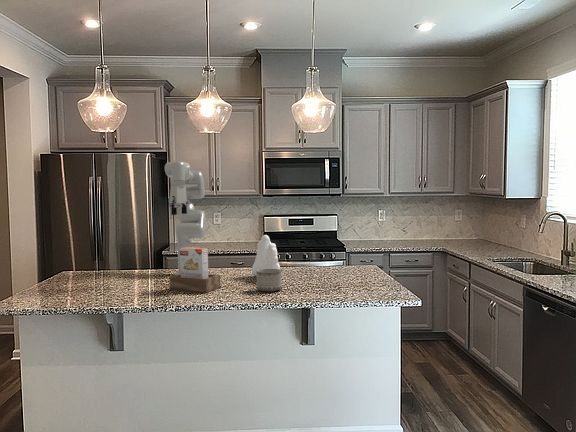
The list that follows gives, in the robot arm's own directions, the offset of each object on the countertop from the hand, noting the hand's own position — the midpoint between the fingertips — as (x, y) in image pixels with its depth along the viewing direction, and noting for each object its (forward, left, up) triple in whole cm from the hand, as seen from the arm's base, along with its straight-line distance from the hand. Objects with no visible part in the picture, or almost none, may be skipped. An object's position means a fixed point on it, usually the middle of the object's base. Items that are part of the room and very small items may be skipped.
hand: (179, 214), depth 289 cm
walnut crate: (+16, +20, -38) cm, 46 cm away
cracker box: (+17, +20, -38) cm, 46 cm away
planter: (+6, +58, -39) cm, 70 cm away
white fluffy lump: (-23, +43, -38) cm, 62 cm away
